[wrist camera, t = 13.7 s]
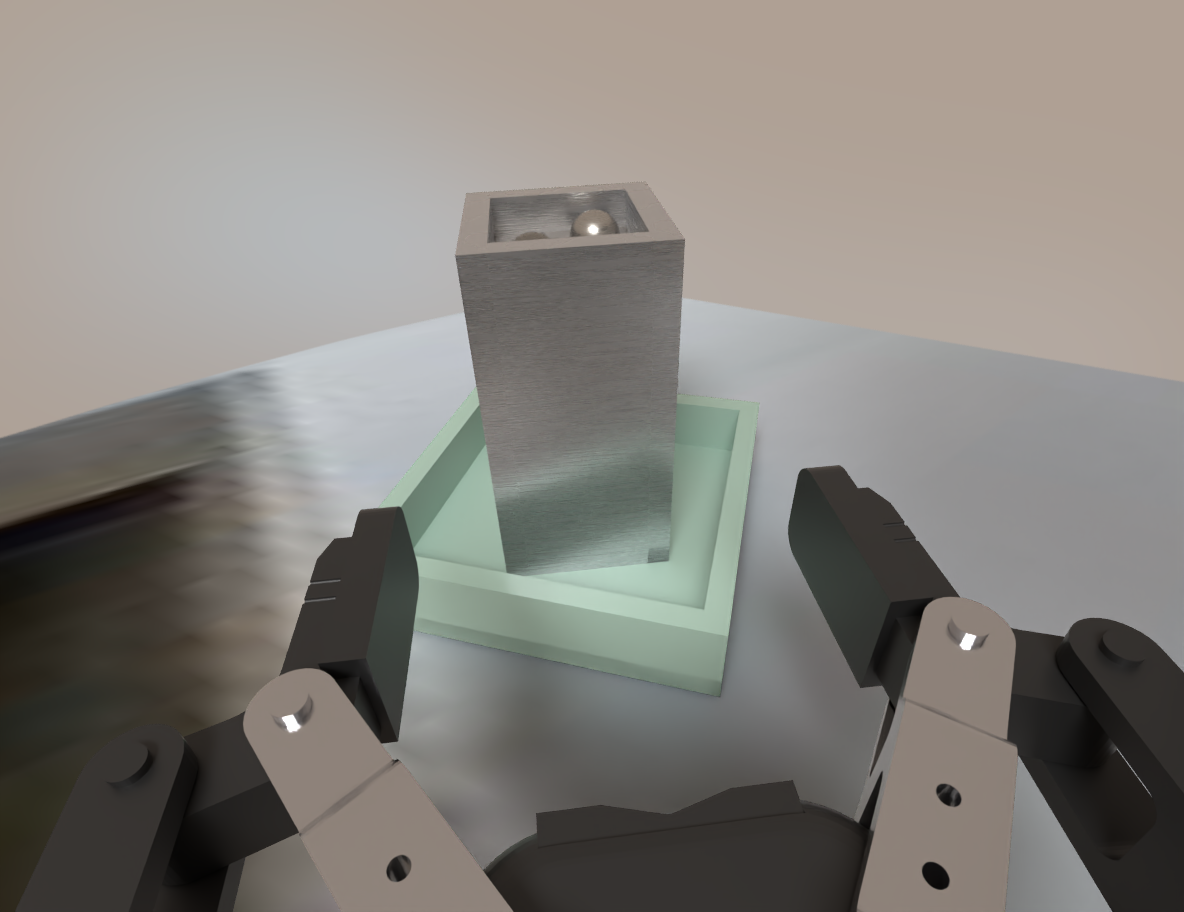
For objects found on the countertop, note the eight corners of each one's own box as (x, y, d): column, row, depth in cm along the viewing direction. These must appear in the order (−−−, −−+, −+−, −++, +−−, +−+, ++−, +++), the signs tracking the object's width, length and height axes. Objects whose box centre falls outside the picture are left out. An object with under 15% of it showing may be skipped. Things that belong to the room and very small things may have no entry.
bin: (752, 457, 31) (759, 402, 29) (719, 697, 21) (728, 636, 19) (494, 423, 34) (487, 372, 32) (358, 618, 24) (335, 559, 22)
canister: (641, 464, 29) (645, 181, 22) (668, 561, 24) (685, 239, 17) (507, 477, 29) (466, 193, 22) (507, 577, 24) (455, 255, 17)
